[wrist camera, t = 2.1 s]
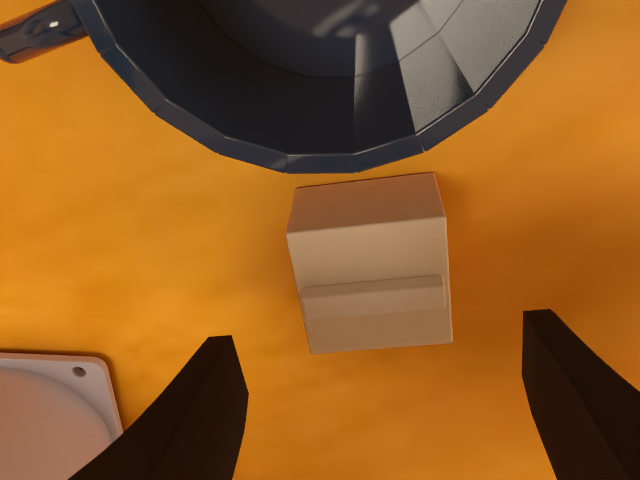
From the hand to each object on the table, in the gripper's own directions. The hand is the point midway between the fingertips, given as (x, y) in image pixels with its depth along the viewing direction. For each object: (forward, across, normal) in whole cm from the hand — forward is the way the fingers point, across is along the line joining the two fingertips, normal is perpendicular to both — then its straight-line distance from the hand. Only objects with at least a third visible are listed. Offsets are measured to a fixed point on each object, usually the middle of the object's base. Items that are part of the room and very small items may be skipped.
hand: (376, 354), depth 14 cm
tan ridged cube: (+6, 0, 0) cm, 6 cm away
